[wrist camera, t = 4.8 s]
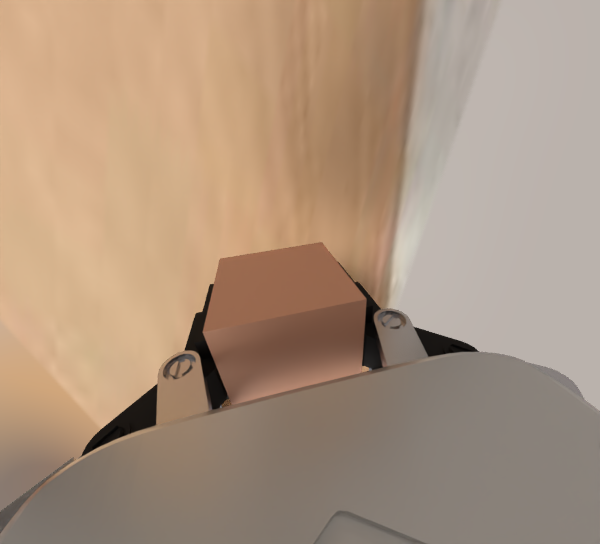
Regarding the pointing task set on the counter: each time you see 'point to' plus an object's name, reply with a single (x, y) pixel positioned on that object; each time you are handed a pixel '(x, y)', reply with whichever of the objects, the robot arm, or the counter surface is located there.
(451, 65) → the counter surface
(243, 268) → the terracotta cube
